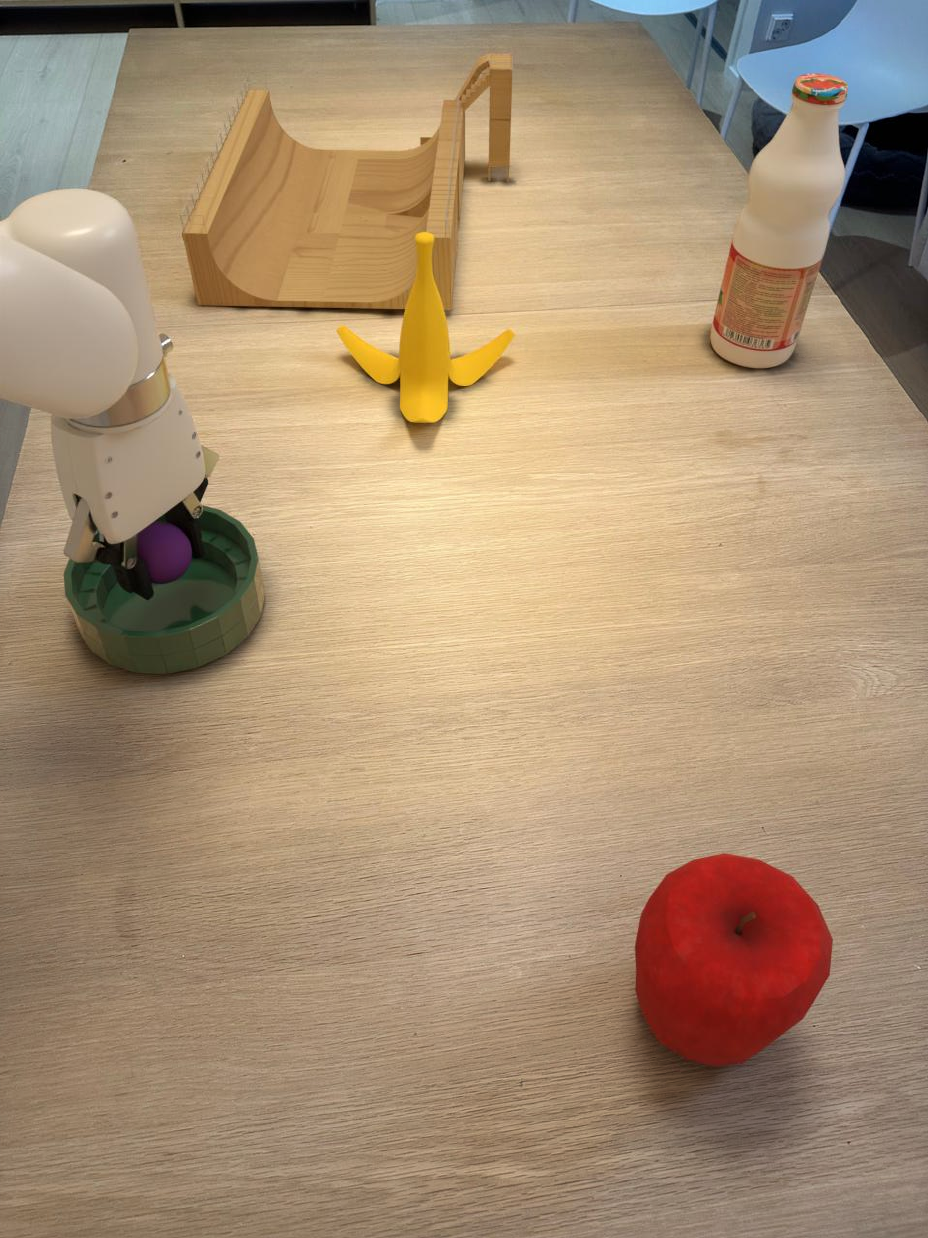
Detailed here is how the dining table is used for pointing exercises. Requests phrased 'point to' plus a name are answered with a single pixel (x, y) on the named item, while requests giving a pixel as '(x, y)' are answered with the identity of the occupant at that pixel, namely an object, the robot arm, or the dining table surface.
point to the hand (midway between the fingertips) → (163, 568)
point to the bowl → (173, 604)
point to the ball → (164, 551)
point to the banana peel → (424, 349)
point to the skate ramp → (335, 208)
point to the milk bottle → (782, 230)
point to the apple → (728, 958)
